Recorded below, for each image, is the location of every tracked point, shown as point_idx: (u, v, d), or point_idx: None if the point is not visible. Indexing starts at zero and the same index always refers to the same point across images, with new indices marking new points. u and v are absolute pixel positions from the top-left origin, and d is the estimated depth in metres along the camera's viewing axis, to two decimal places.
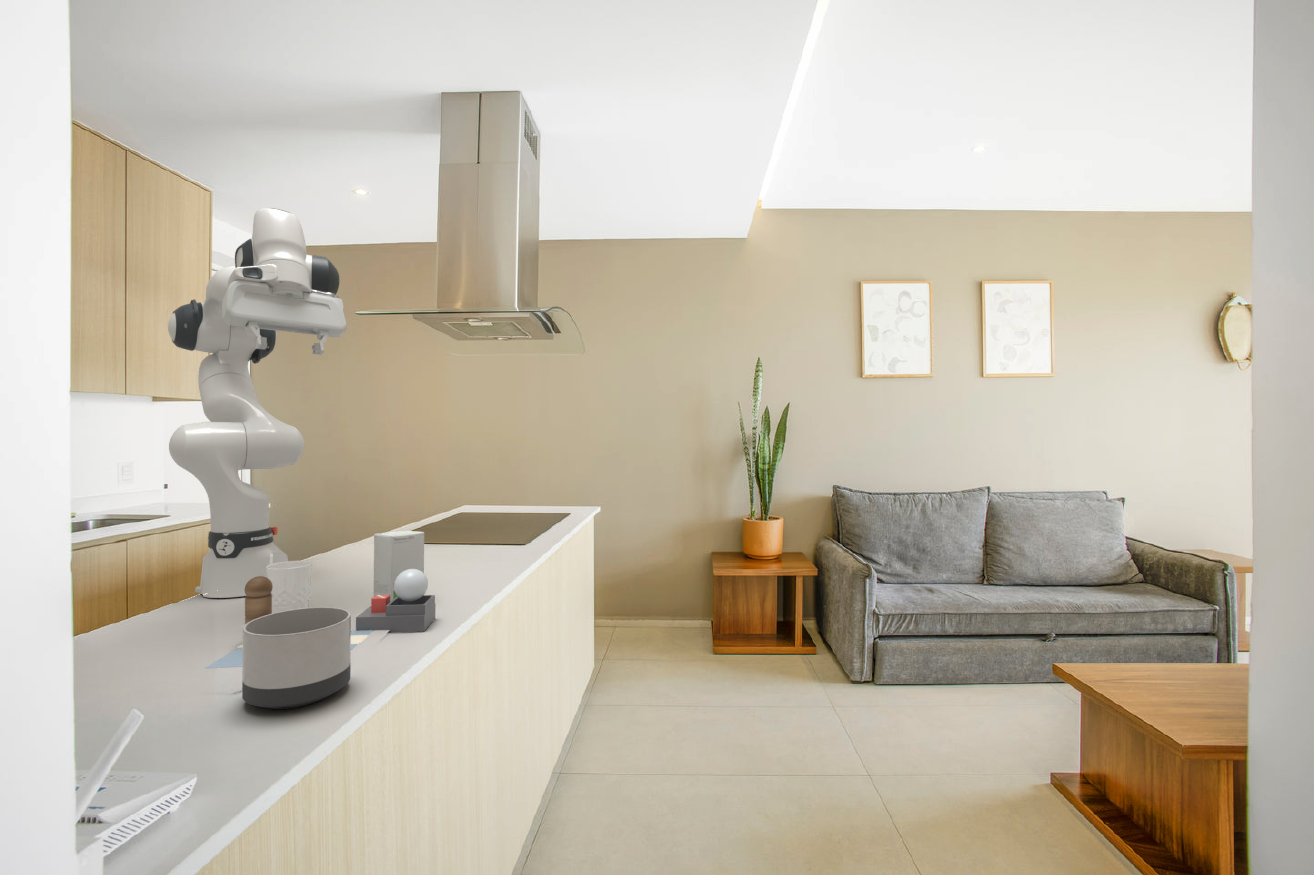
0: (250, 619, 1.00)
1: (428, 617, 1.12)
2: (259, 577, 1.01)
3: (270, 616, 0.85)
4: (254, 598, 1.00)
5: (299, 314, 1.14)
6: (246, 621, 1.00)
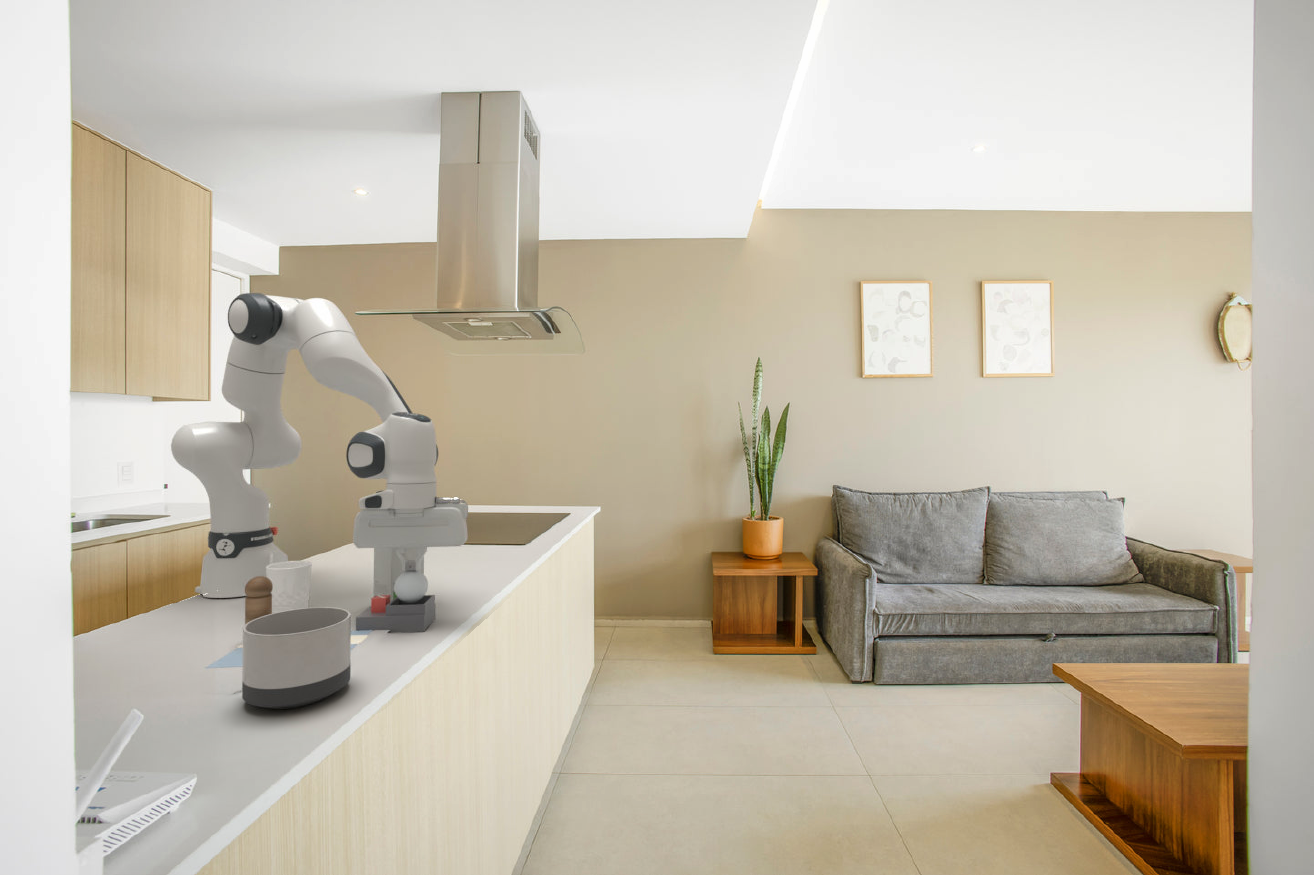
0: (250, 619, 1.00)
1: (428, 617, 1.12)
2: (259, 577, 1.01)
3: (270, 616, 0.85)
4: (254, 598, 1.00)
5: (417, 535, 1.12)
6: (246, 621, 1.00)
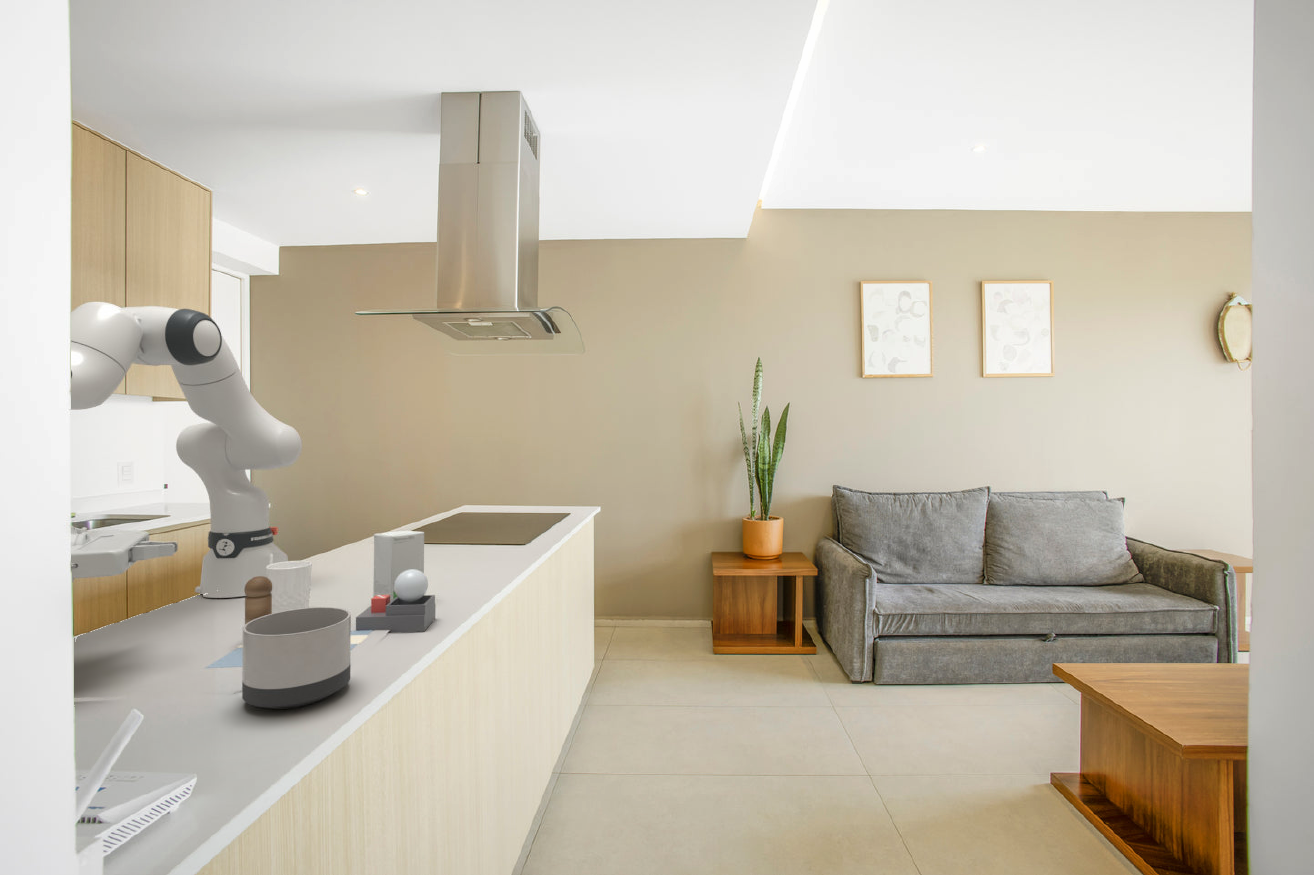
0: (250, 619, 1.00)
1: (428, 617, 1.12)
2: (259, 577, 1.01)
3: (270, 616, 0.85)
4: (254, 598, 1.00)
5: None
6: (246, 621, 1.00)
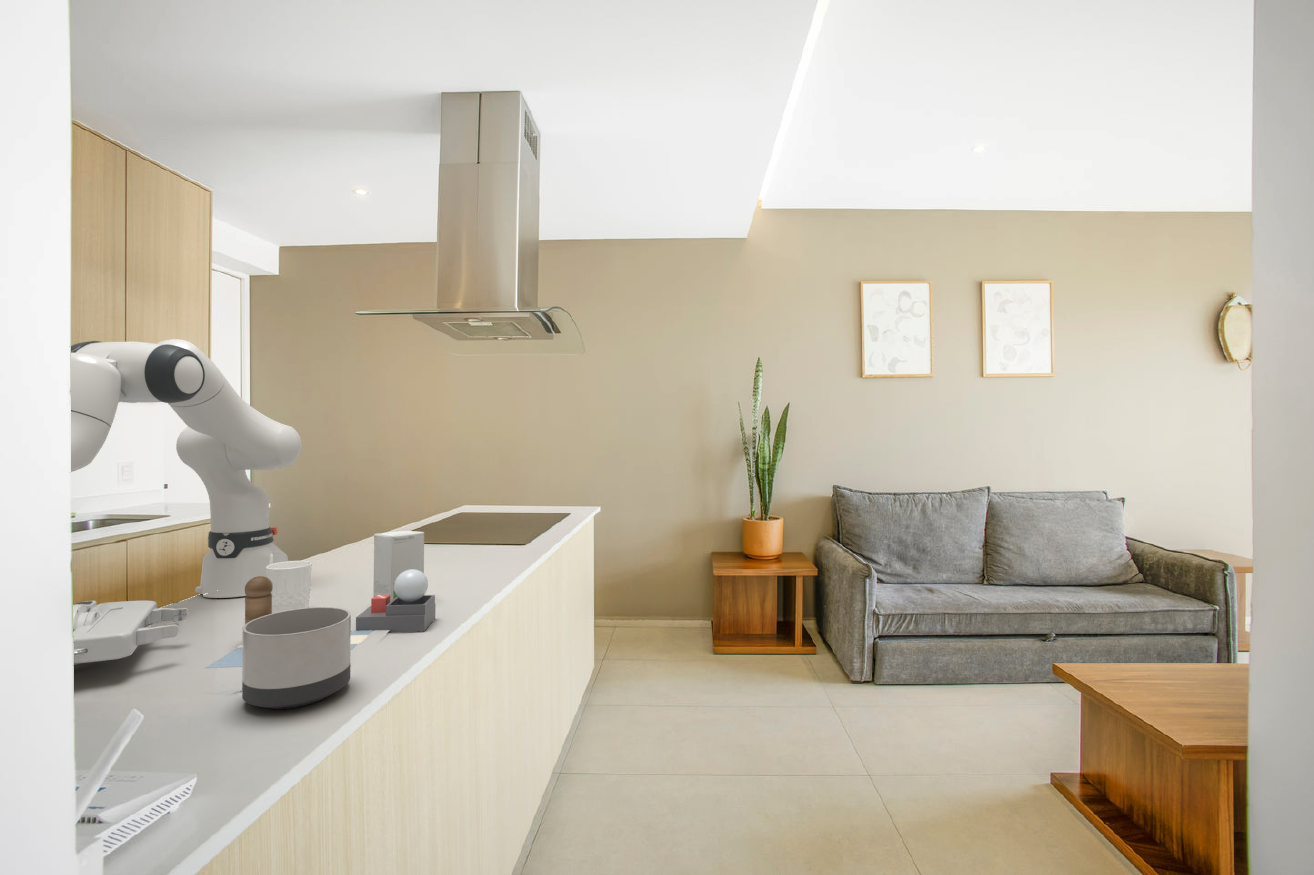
0: (250, 619, 1.00)
1: (428, 617, 1.12)
2: (259, 577, 1.01)
3: (270, 616, 0.85)
4: (254, 598, 1.00)
5: None
6: (246, 621, 1.00)
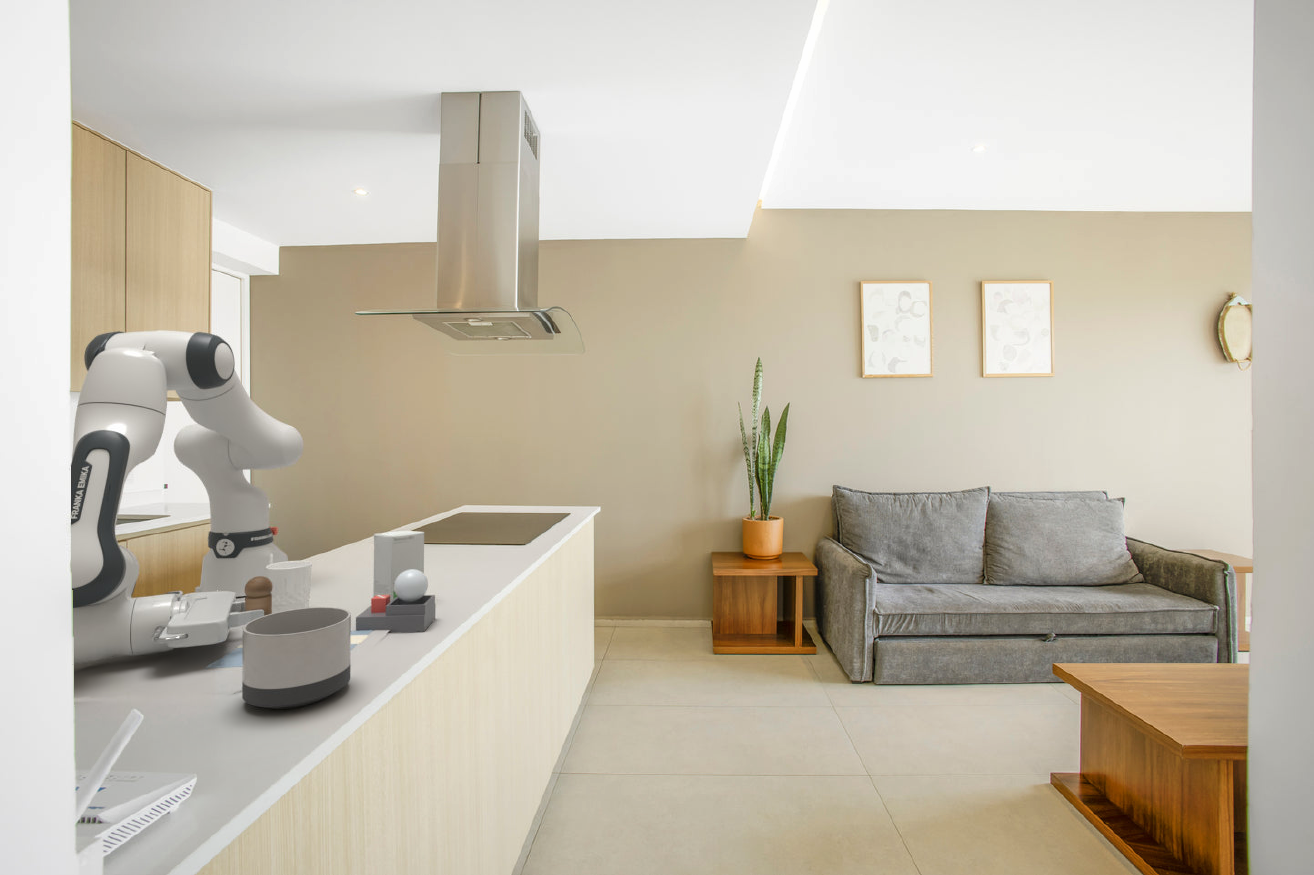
0: None
1: (428, 617, 1.12)
2: (259, 577, 1.01)
3: (270, 616, 0.85)
4: (254, 598, 1.00)
5: None
6: None
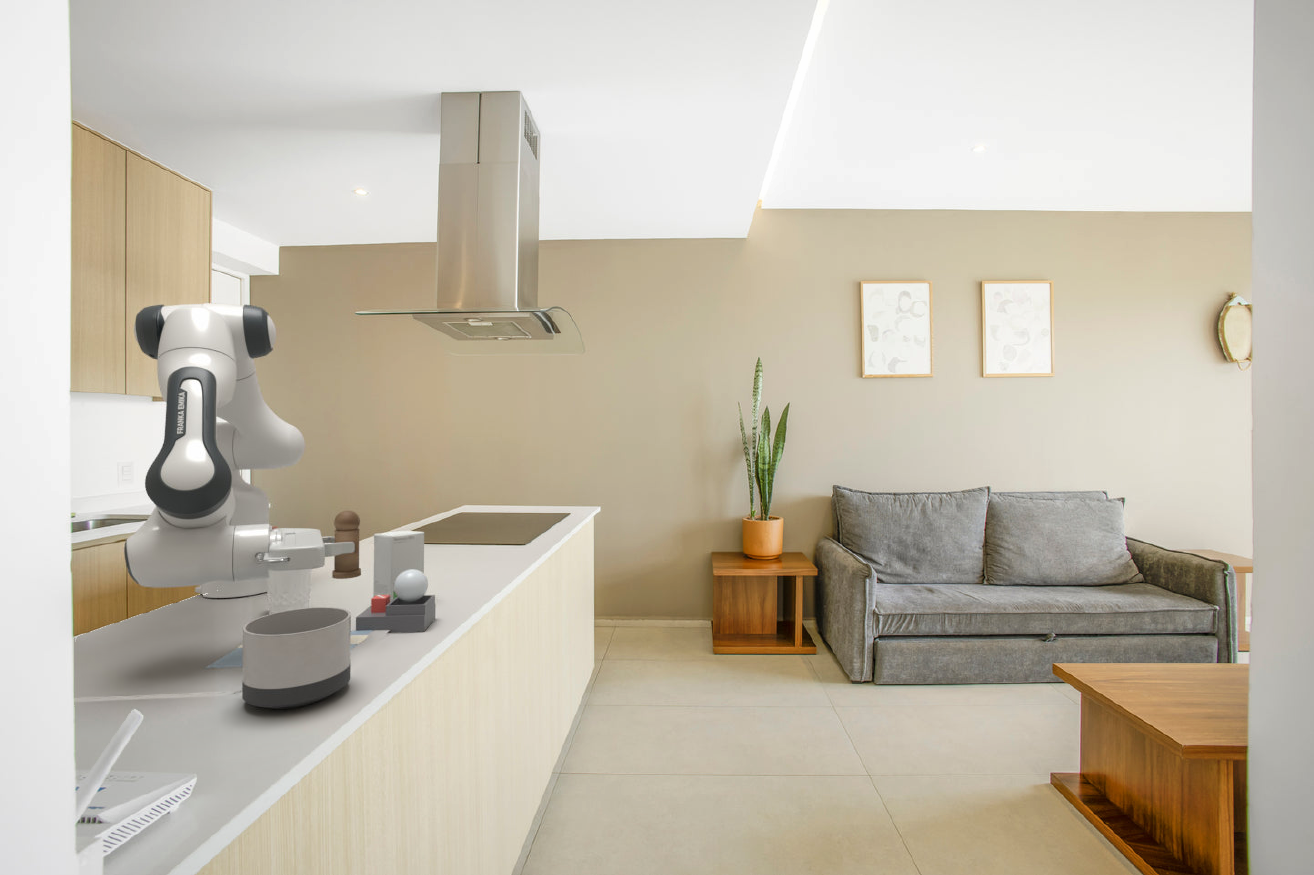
0: None
1: (428, 617, 1.12)
2: (348, 511, 1.03)
3: (270, 616, 0.85)
4: (344, 531, 1.01)
5: None
6: None
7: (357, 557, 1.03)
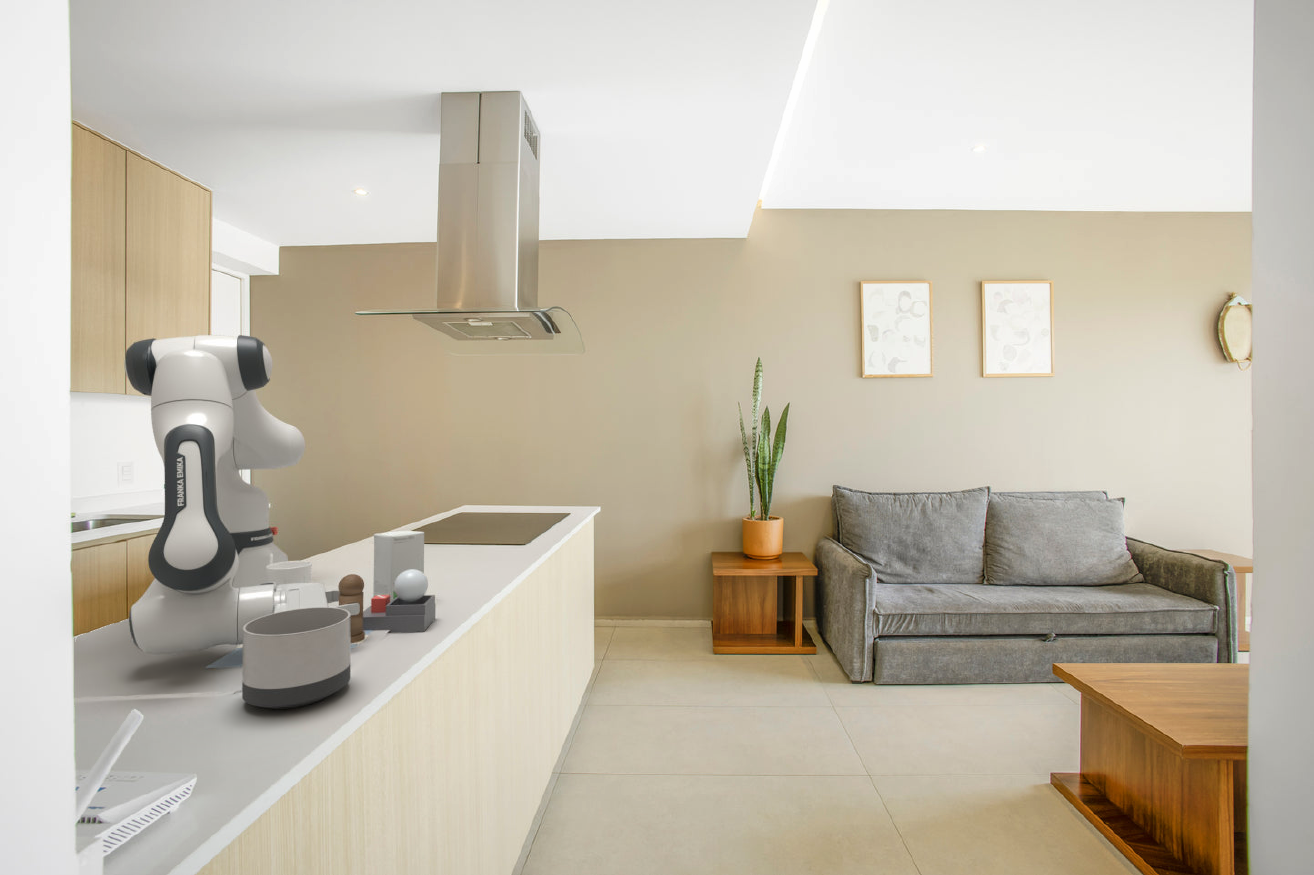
0: None
1: (428, 617, 1.12)
2: (352, 575, 1.03)
3: (270, 616, 0.85)
4: (348, 596, 1.02)
5: None
6: None
7: (361, 621, 1.03)
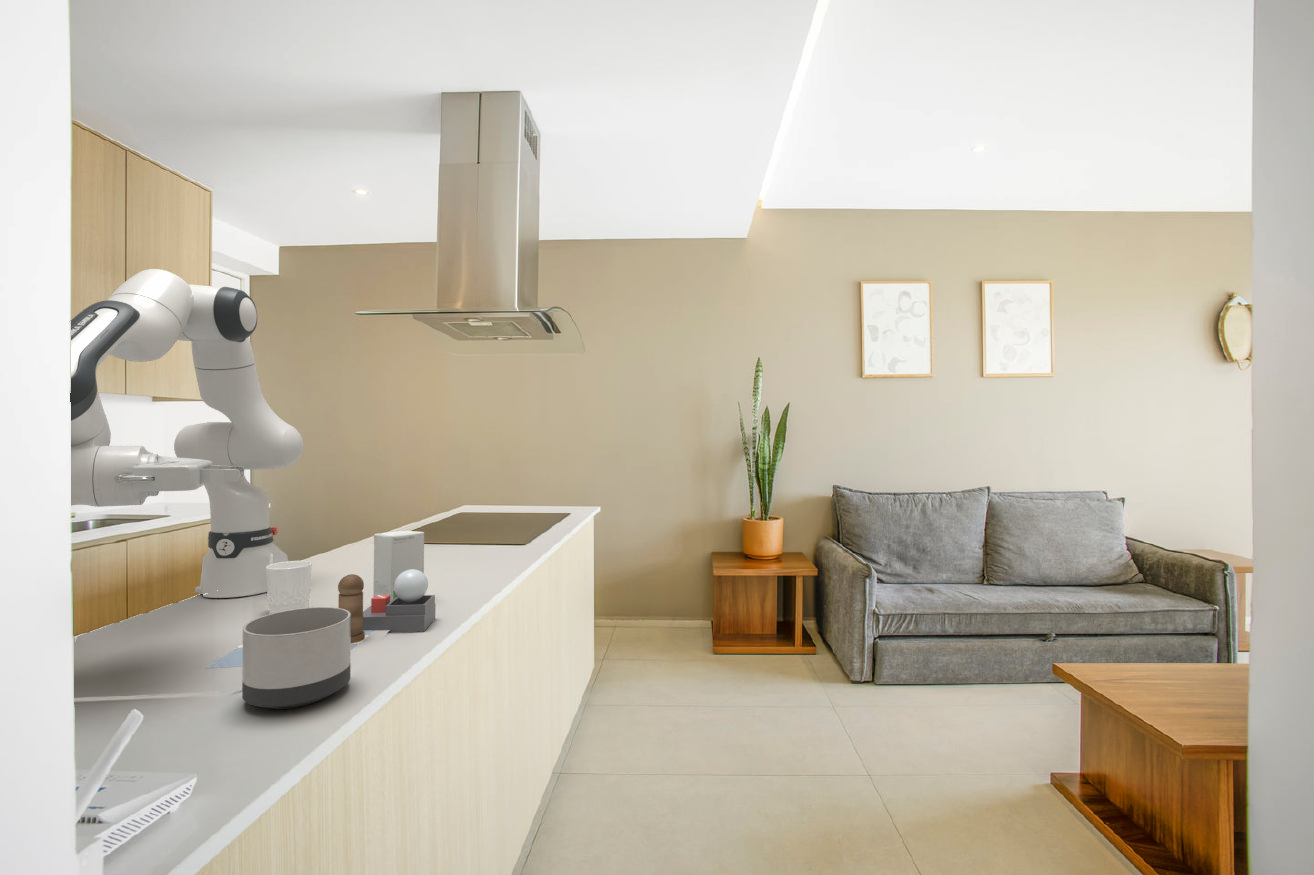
0: None
1: (428, 617, 1.12)
2: (352, 575, 1.03)
3: (270, 616, 0.85)
4: (348, 596, 1.02)
5: None
6: None
7: (361, 621, 1.03)
